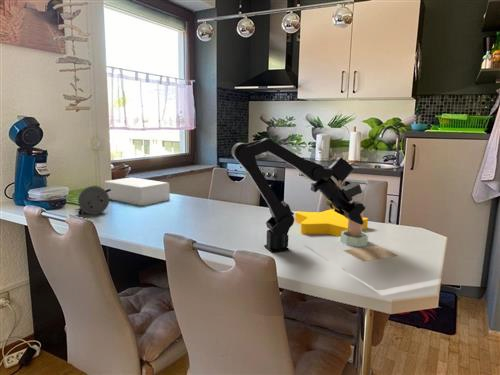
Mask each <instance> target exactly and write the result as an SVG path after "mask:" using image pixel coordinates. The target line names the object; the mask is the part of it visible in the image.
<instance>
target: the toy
mask: <svg viewBox="0 0 500 375" xmlns="http://www.w3.org/2000/svg"><path fill="white" fill-rule="evenodd" d="M109 191H111V189H108V190H105V188H102V187H100V186H95V185H94V186H87V187H86V188H85V189H83V190H82V191H81V192H80V194H79V195H78V199H77V202H78V206H79V208H80V209H79V211H78V212H77V214H79V215H81V214H82V212H83V213H86V214H87V215H99V214H101V213H103V212H104V211H105V210H106V209H107V208H108V206H109V205H110V204H109V203H110V199H109V196H108V194H107V192H109Z"/></svg>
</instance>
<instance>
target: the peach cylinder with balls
mask: <svg viewBox="0 0 500 375" xmlns="http://www.w3.org/2000/svg"><path fill="white" fill-rule="evenodd" d="M357 202H359V201H358V200H357ZM360 215H361V218H362V220H363V217H364V211H363V212H362V213H361V214H360ZM362 232H363V229H362V225H361V224H358V223H356V222H354V221H351V220H349V219H348V233H347V236H349V237H356V238H360V237H361V236H362Z"/></svg>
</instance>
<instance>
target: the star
mask: <svg viewBox="0 0 500 375" xmlns="http://www.w3.org/2000/svg"><path fill="white" fill-rule="evenodd" d="M334 210H335V208H333V210H332V209H330V208H329V209H328V210H324V211H320V212H315V211H314V212H312V211H311V212H310V211H295V212H294V215H295V216H294V223H297V224H299V225H300V234H301V235H319V234H321V235H322V234H326V235H327V234H328V235H332V236H335V237H341V233H342V231H348V219H347V218H346V217H345V216H343V215H341V214H339V213H337V212H335V211H334ZM363 222H364V223H363V224H362V230H366V229H367V230H368V222H369V218H368V217H364V216H363Z"/></svg>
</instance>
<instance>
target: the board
mask: <svg viewBox="0 0 500 375" xmlns="http://www.w3.org/2000/svg"><path fill="white" fill-rule="evenodd" d="M343 252H345V253H347V254H349V255H351V256H352V257H354V258H356V259H358V260H360V261H361V262H367V261H375V260H381V259H385V258H386V259H387V258H393V257H398V256H399V255H398V254H396V253H394V252H392V251H390V250H387V249H385V248H383V247H381V246H378V245H372V246H371V245H370V246H363V247H357V248H351V249H344V250H343Z"/></svg>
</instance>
